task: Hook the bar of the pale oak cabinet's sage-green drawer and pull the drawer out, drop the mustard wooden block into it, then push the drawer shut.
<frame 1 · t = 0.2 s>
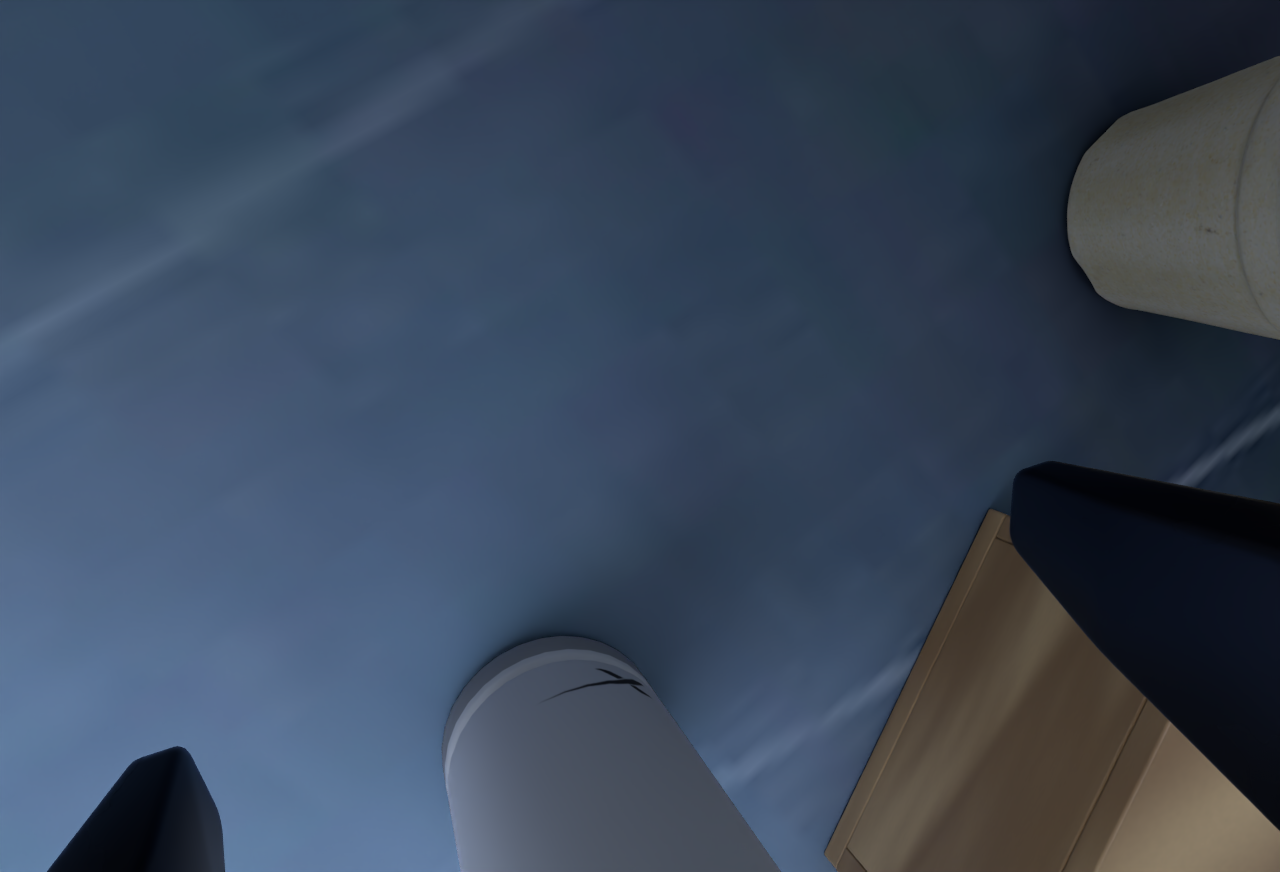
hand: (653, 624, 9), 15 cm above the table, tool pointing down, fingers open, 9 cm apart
cabinet: (1061, 741, 32), on the table
flower pot: (1135, 208, 29), on the table
travel mug: (546, 727, 26), on the table
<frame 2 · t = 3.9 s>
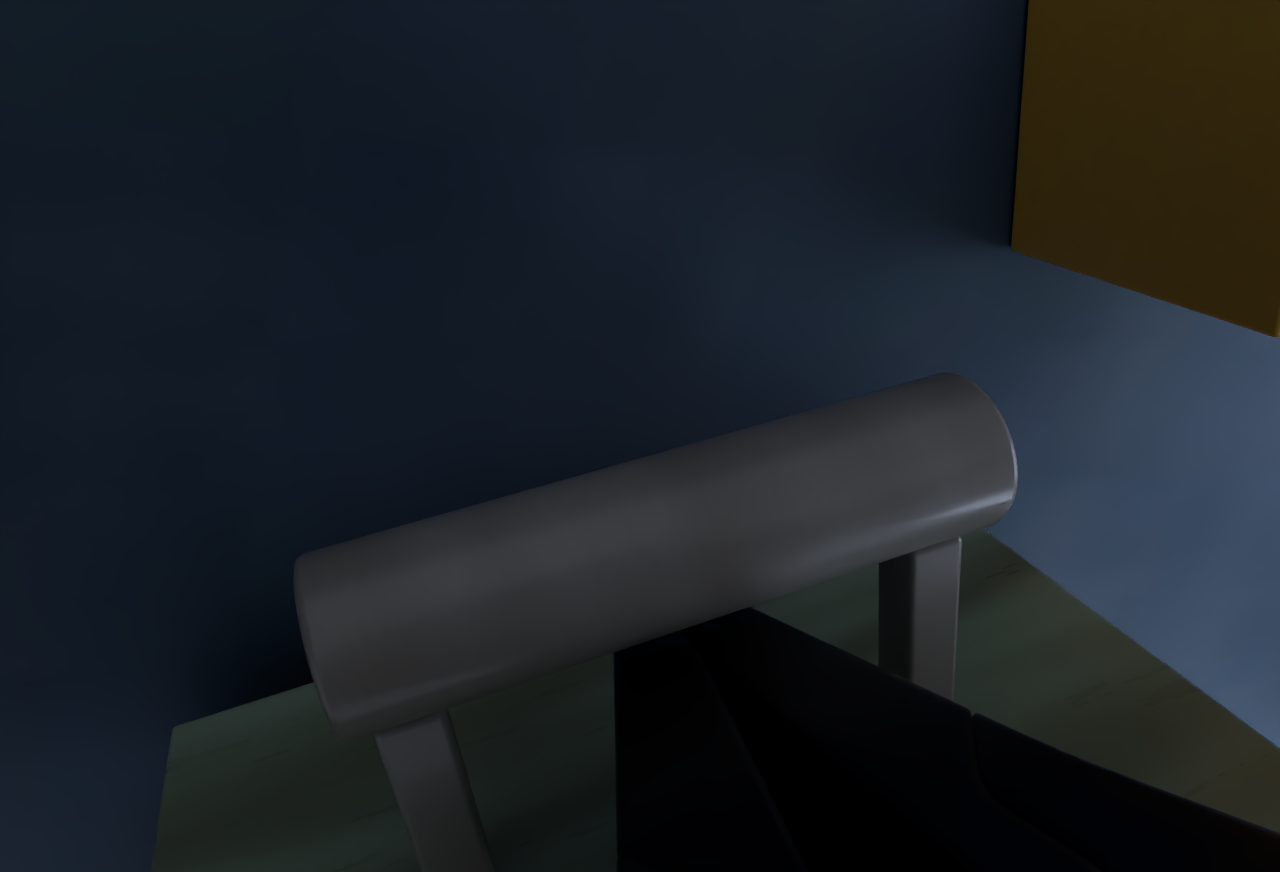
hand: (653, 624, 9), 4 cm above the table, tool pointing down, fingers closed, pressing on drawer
block: (1142, 76, 14), on the table
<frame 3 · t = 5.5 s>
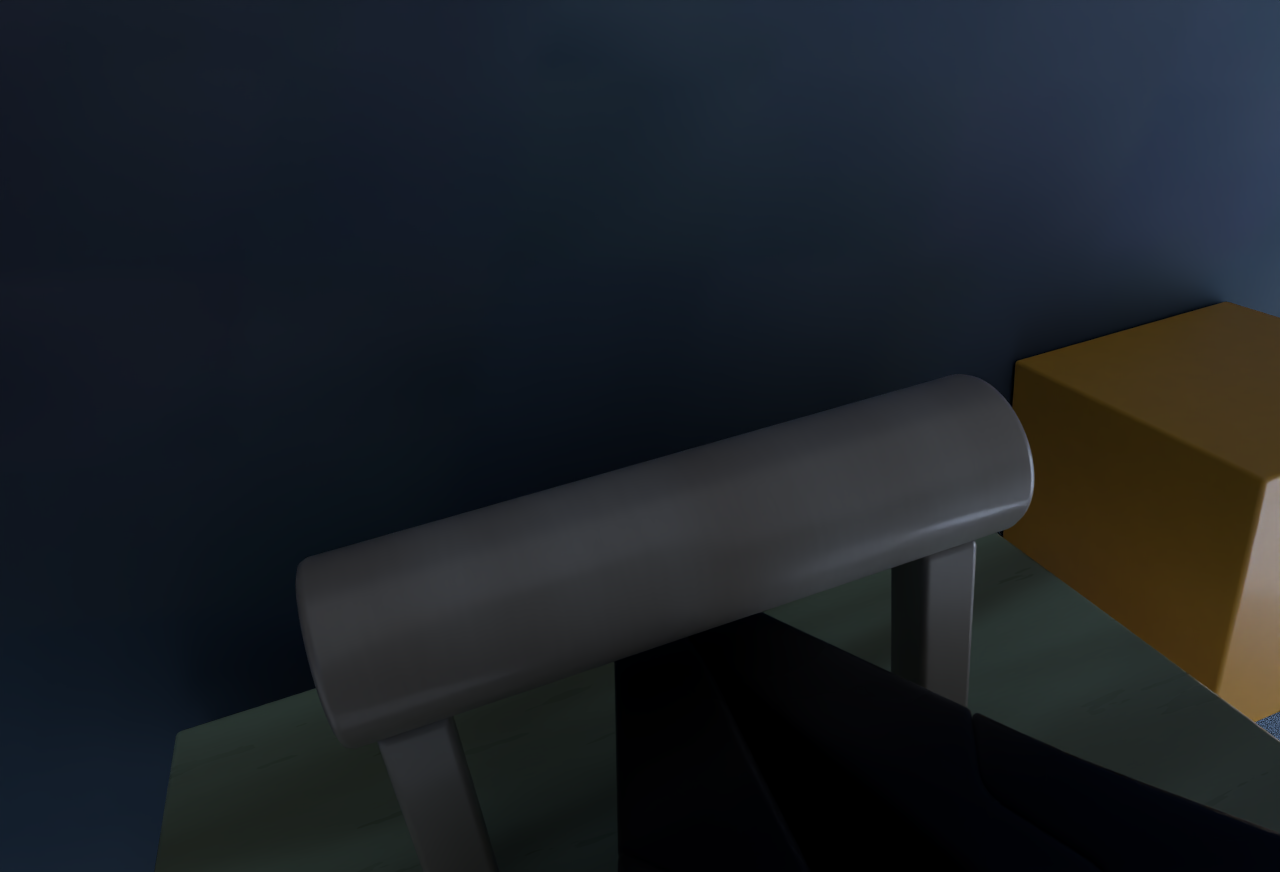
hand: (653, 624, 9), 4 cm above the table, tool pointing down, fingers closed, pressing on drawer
block: (1108, 444, 17), on the table
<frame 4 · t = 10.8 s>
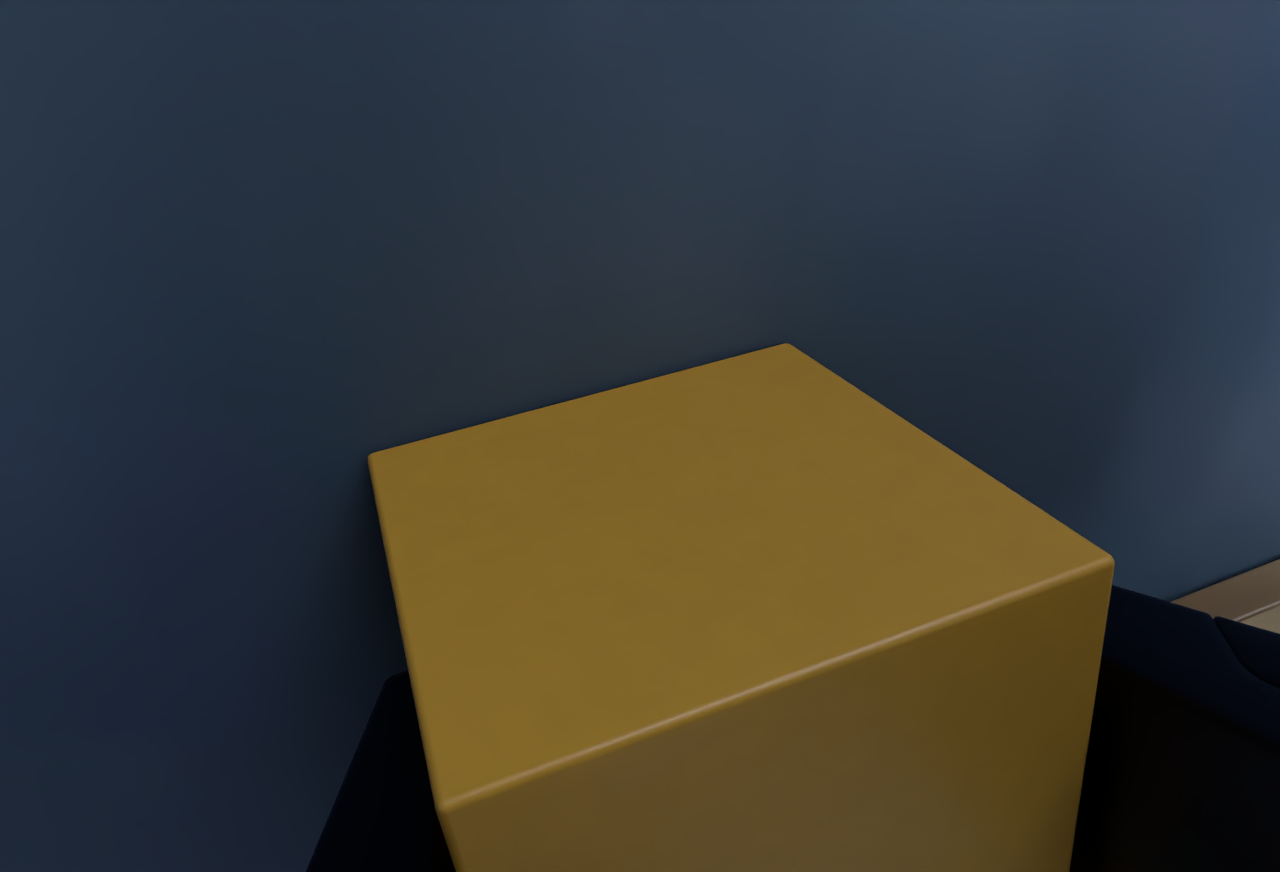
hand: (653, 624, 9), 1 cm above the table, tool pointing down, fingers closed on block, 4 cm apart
block: (619, 572, 10), on the table, touching gripper
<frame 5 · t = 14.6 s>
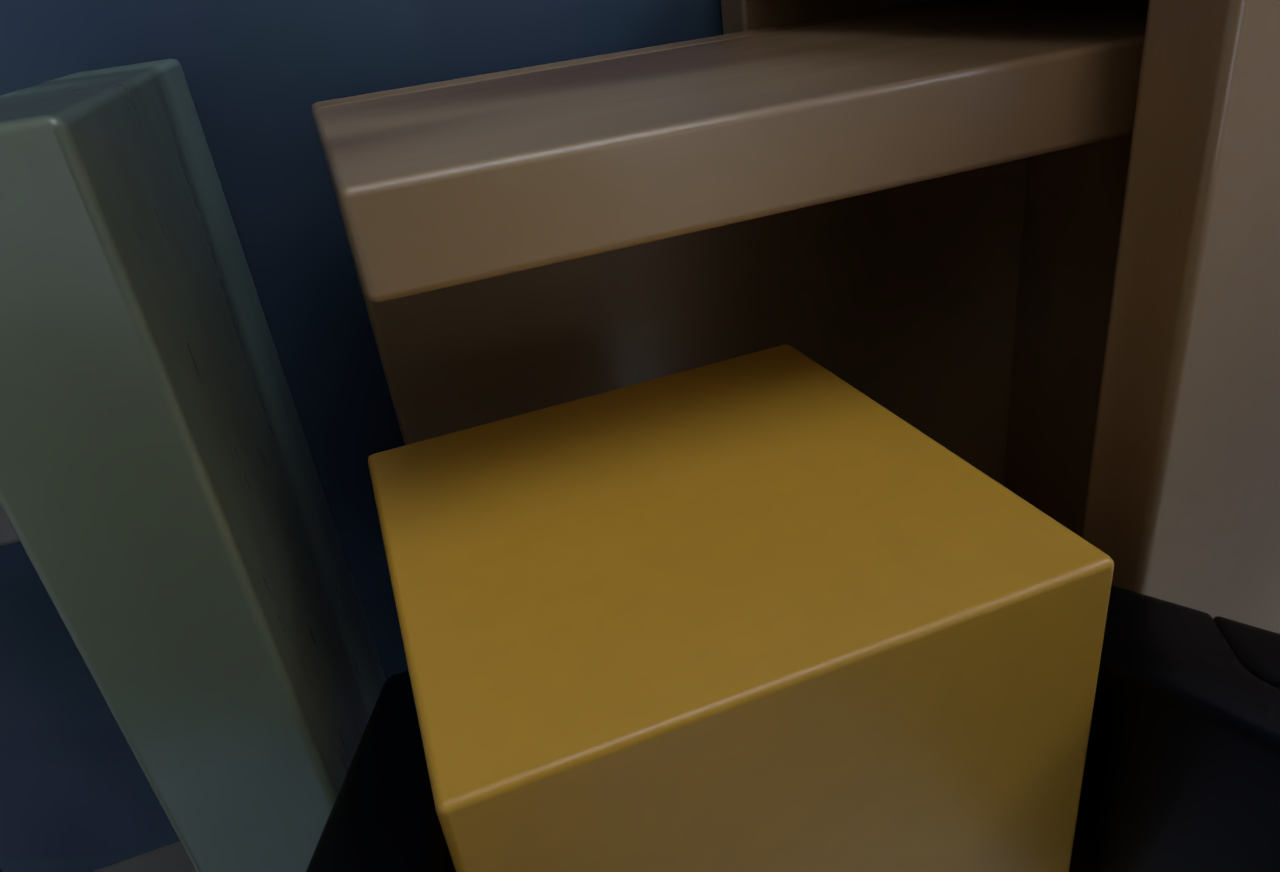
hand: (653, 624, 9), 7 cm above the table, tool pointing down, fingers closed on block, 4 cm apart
cabinet: (1079, 248, 18), on the table
drawer: (606, 514, 11), point 4 cm above the table, slide at 7.4 cm
block: (619, 573, 10), point 6 cm above the table, touching gripper
when the fingers open (9 cm above the table, at t = 25.4 s): block drops 6 cm, resting on drawer.
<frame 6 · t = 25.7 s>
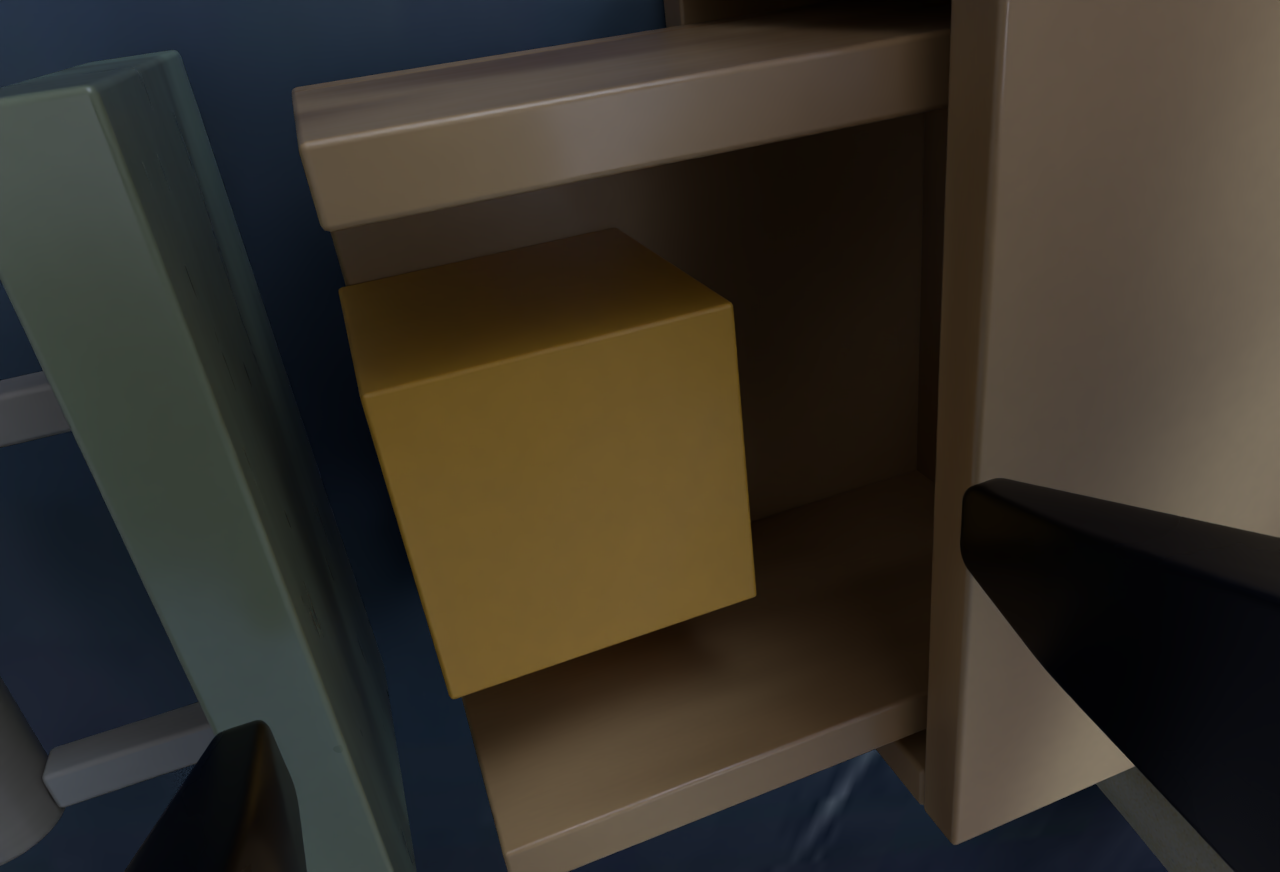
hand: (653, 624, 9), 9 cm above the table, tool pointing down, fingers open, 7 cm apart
cabinet: (998, 222, 20), on the table
drawer: (543, 439, 13), point 4 cm above the table, slide at 7.6 cm, touching block
flower pot: (1140, 690, 30), on the table
block: (509, 384, 15), point 2 cm above the table, touching drawer
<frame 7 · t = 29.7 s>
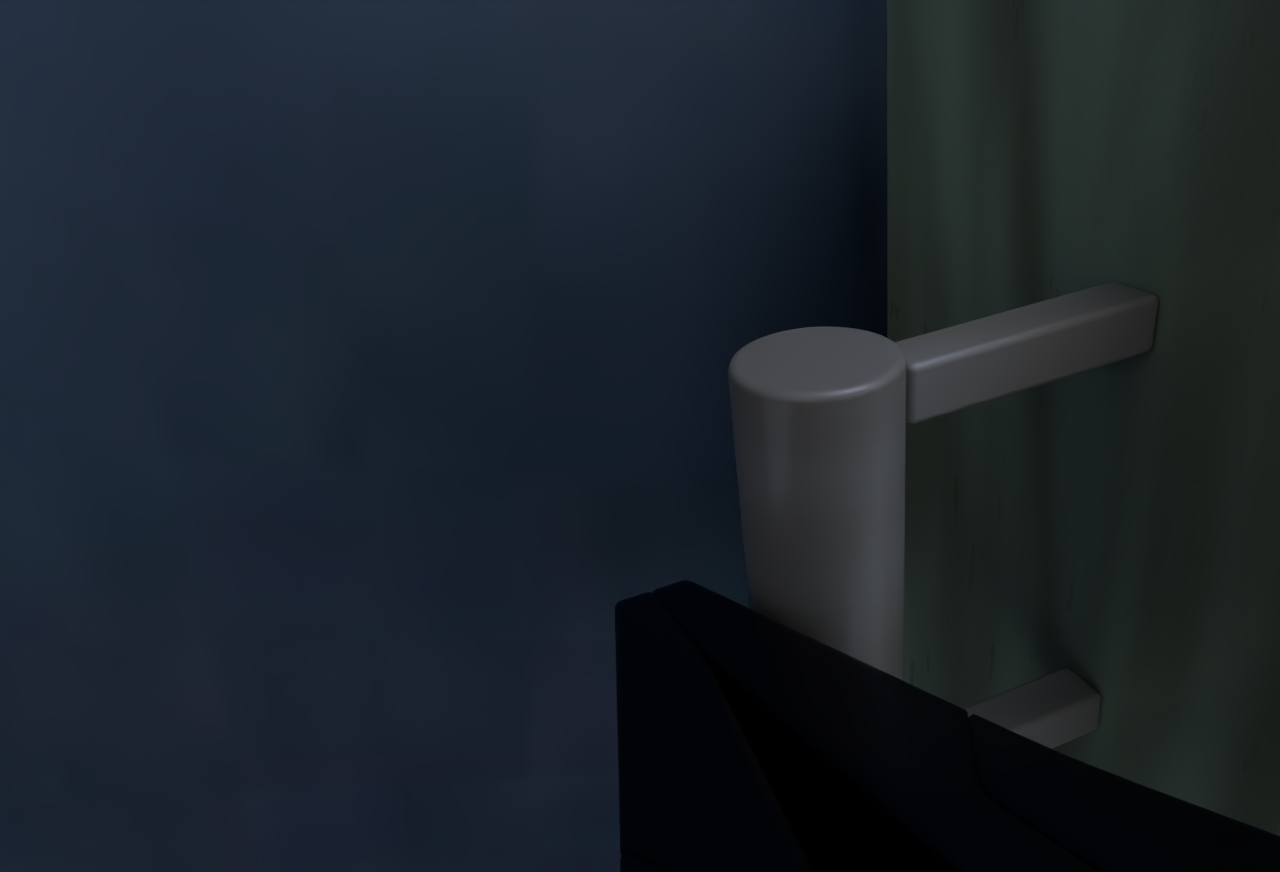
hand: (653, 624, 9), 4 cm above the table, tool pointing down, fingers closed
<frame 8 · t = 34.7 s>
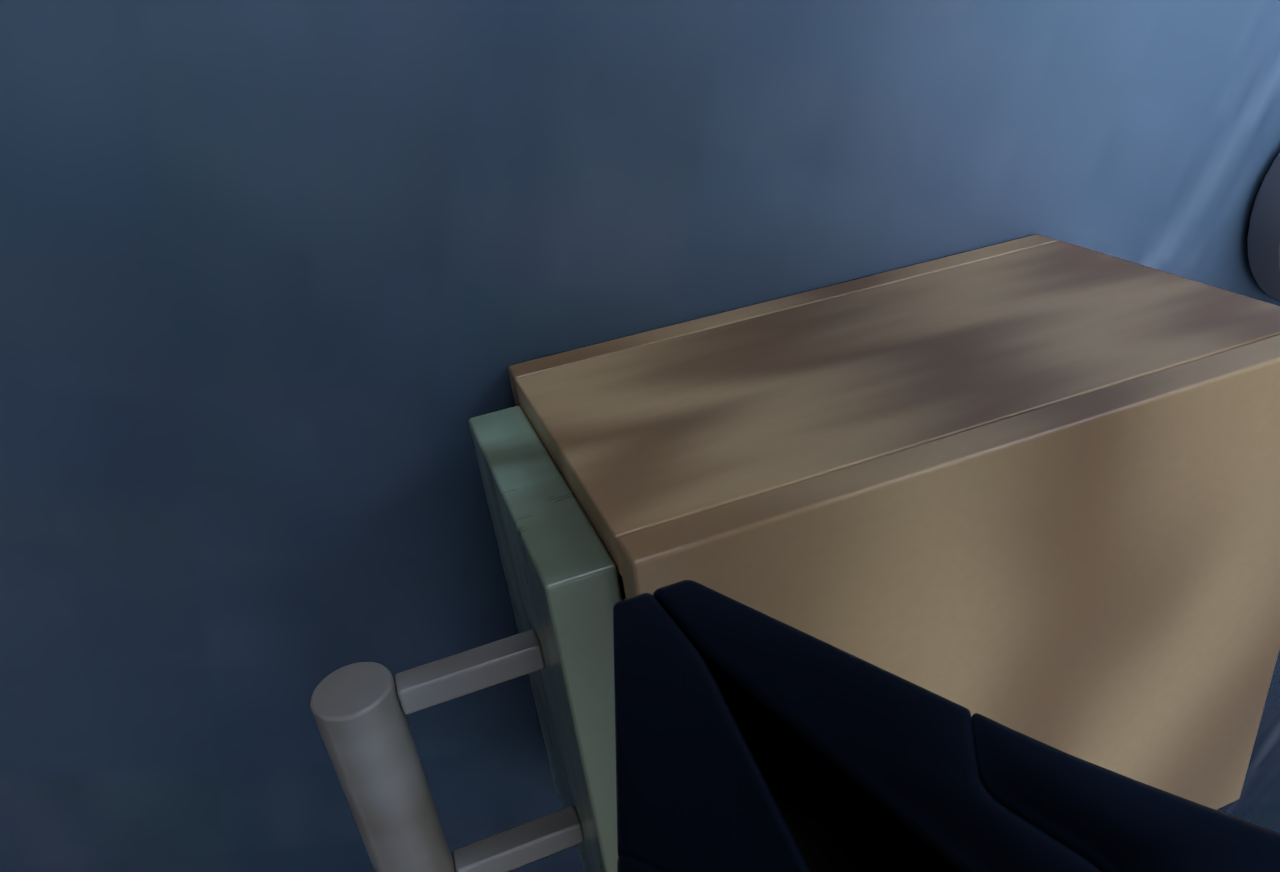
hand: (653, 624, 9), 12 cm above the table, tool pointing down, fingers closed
cabinet: (803, 508, 25), on the table
drawer: (744, 644, 21), point 4 cm above the table, slide at 0.0 cm, touching block, cabinet
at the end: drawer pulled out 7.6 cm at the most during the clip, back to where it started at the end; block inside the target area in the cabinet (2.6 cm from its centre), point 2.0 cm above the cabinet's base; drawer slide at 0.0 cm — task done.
